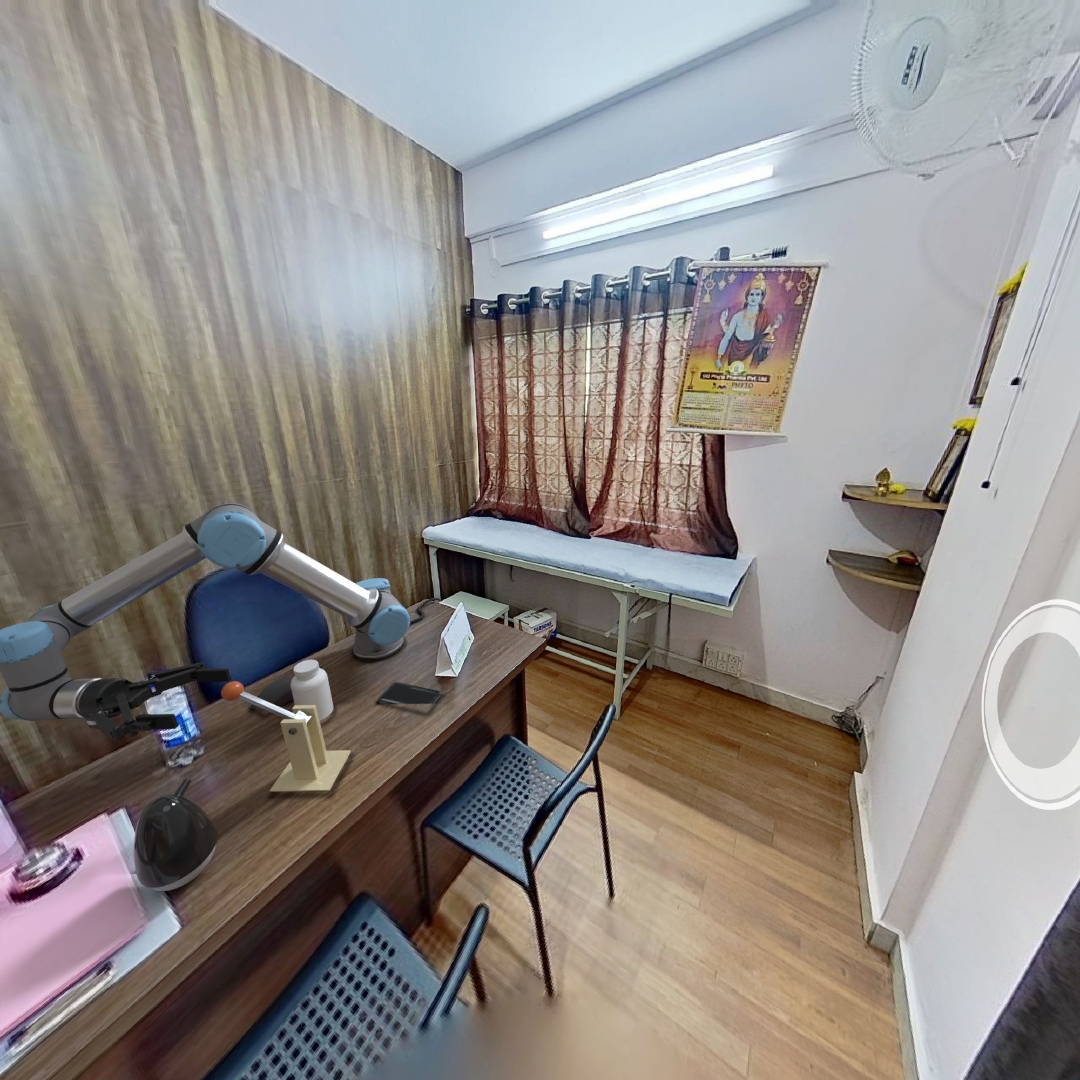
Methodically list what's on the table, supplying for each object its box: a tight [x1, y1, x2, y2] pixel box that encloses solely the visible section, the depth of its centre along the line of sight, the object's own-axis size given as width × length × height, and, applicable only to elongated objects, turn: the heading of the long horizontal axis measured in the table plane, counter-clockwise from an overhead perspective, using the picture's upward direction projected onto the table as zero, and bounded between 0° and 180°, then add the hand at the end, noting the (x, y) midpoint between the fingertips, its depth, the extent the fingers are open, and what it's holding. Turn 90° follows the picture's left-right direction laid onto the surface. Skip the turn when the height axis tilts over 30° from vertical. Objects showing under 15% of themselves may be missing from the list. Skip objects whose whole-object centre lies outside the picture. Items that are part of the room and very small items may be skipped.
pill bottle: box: [291, 659, 334, 722], centre depth 102 cm, size 8×8×15 cm
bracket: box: [269, 704, 352, 793], centre depth 85 cm, size 12×10×16 cm
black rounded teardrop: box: [133, 778, 219, 892], centre depth 68 cm, size 10×10×15 cm
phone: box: [378, 681, 442, 705], centre depth 109 cm, size 8×1×15 cm
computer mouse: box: [250, 674, 295, 712], centre depth 111 cm, size 8×14×4 cm, turn 150°
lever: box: [220, 680, 312, 724], centre depth 82 cm, size 17×4×4 cm, turn 88°
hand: (204, 696), depth 82 cm, fingers open, 13 cm apart
